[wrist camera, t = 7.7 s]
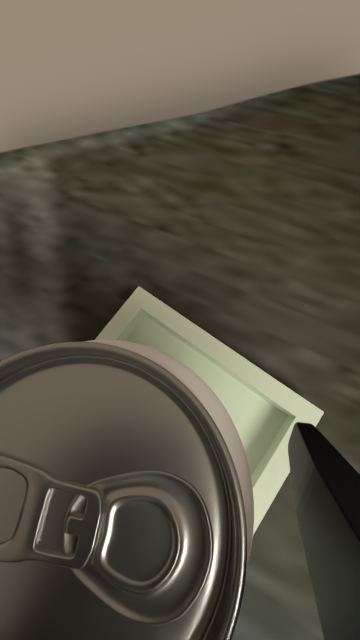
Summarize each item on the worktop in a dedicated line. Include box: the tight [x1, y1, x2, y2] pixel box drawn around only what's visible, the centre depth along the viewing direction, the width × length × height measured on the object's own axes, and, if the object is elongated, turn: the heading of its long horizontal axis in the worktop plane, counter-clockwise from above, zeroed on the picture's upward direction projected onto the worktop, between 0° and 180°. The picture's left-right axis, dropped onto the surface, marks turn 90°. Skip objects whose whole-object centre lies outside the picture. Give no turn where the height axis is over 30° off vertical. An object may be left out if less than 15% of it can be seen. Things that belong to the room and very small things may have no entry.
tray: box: [95, 286, 324, 534], centre depth 15 cm, size 12×12×2 cm
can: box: [0, 340, 254, 640], centre depth 10 cm, size 6×6×12 cm
